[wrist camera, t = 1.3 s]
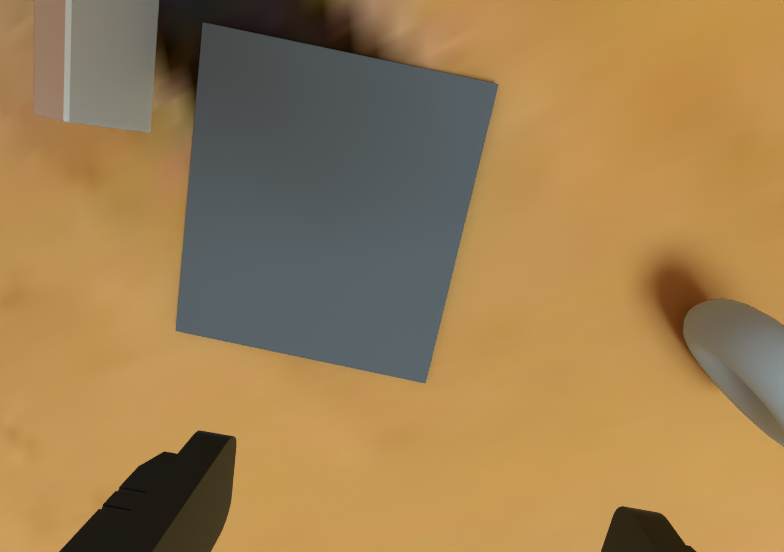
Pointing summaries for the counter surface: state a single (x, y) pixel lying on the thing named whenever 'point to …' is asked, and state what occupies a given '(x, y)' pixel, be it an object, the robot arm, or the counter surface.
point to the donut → (741, 358)
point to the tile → (95, 61)
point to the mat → (326, 200)
